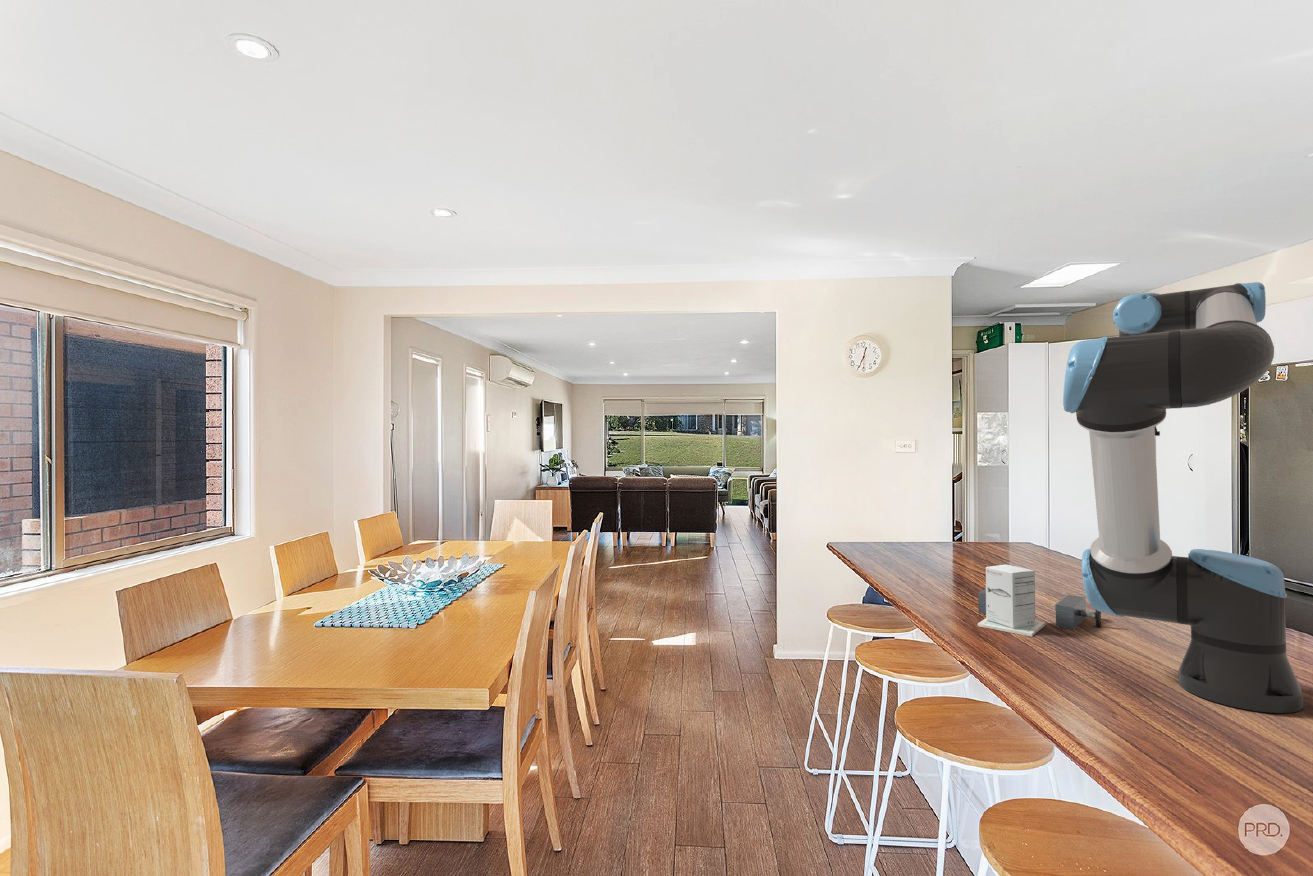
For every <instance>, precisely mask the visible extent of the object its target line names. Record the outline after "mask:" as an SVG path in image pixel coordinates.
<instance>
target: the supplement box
mask: <svg viewBox="0 0 1313 876" xmlns="http://www.w3.org/2000/svg"><path fill="white" fill-rule="evenodd" d="M985 589H986V614H985V618H986V620H989V621H993V622H996V623H999V624H1002V625H1005V626H1008V627H1011V628H1020V627H1026V626H1031V625H1035V621H1036V570H1033V569H1029V568H1025V567H1020V566H1016V565H1010V564H999V565H992V566H991V565H990V566H986V567H985Z"/></svg>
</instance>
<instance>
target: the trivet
mask: <svg viewBox="0 0 1313 876" xmlns="http://www.w3.org/2000/svg"><path fill="white" fill-rule="evenodd" d="M1045 626H1046V622H1044V621H1038V620H1035V625H1031V626H1026V627H1020V628H1011V627H1008V626H1005V625H1002V624H999V623H996V622H993V621H989V620H986V617H985V618H984V619H982V620H981V621H979V622H978V623H977V627H980V628H981V627H982V628H985V629H991V630H997V631H1001V632H1007V633H1012V634H1016V635H1022V636H1027V637H1033V636H1035V635H1036V633H1038V632H1039V631H1040V630H1042V629H1043V628H1044V627H1045Z"/></svg>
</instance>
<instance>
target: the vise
mask: <svg viewBox="0 0 1313 876" xmlns="http://www.w3.org/2000/svg"><path fill="white" fill-rule="evenodd" d="M977 597H978V598H977V604H978V606H977V607H978V613H979V614H982V615H986V588H984V589H982V590H980V591H978V592H977ZM1086 600H1087V597H1086V596H1081V595H1073V594H1072V595H1071V594H1067V595H1065V596H1064V597H1062V598H1061V599H1060V600H1058V601H1057V602H1055V603H1054V611H1055V627H1058V628H1062V629H1063V628H1064V629H1069V630H1073V631H1074V630H1075V629H1076V628H1077V627H1079V626H1080V624H1081V623H1083V622H1084V620H1085V619H1087V618H1091V619H1095V627H1096V628H1102V612H1100V611H1098V610H1096V609H1094V610H1095V611H1089V610H1087V609H1086V605H1087V604H1086V602H1087V601H1086Z"/></svg>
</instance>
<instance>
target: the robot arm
mask: <svg viewBox="0 0 1313 876" xmlns="http://www.w3.org/2000/svg"><path fill="white" fill-rule="evenodd" d="M1266 301H1267V300H1266V288H1265V285H1264V284H1263V283H1262V282H1258V281H1257V282H1246V283H1243V282H1237V283H1234V284H1230V285H1229V284H1228V285H1221V286H1216V287H1215V286H1214V287H1207V288H1199V289H1193V290H1186V291H1185V290H1184V291H1182V290H1181V291H1177V292H1166V293H1155V292H1145V293H1136V294H1135V293H1134V294H1131V295H1126V296H1125V297H1122V298H1121V299H1120V300H1119V302H1118V303H1117V304H1116V305H1115V307H1114V309H1113V313H1112V317H1113V318H1112V319H1113V324H1114V325H1115V328H1116V329H1117V330H1118V336H1110V337H1109V336H1108V337H1107V336H1103V337H1100V338H1095V339H1086V340H1081V341H1078V342H1077V343H1075V344H1073V345H1072V347H1071V348H1070V350H1069V353H1068V357H1067V363H1066V368H1065V374H1064V384H1063V396H1062V398H1063V399H1062V402H1063V403H1062V406H1063V410H1064V412H1067V413H1070V414H1076V415H1075V416H1076V422H1077V424H1078V425H1079V426H1080V427H1082V428H1083V429H1085V430H1087V431H1088V433H1089V444H1090V455H1091V467H1092V476H1093V486H1094V488H1093V489H1094V496H1095V507H1096V508H1095V509H1096V517H1097V518H1096V519H1097V529H1098V537H1097V538H1096V539H1094V540H1093V542H1092V543H1091V545H1090V548H1086V549H1085V550H1083V553H1082V556H1081V574H1082V584H1083V590H1084V593H1085V597H1086V600H1088V603H1089V605H1090V606H1091V607H1092V608H1093V609H1094V610H1095V609H1096V610H1098V611H1100V612H1101V613H1104V614H1110V615H1113V616H1114V615H1115V616H1116V617H1129V618H1136V619H1142V620H1143V619H1144V620H1152V621H1159V622H1165V623H1166V622H1167V623H1172V624H1179V625H1187V626H1190V643H1189V645H1188V647H1187V649H1186V652H1185V653H1184V656H1183V659H1182V660H1181V664H1180V666H1179V669H1178V684H1179V686H1180V687H1181V688H1182V689H1184V690H1185V691H1187V692H1188V693H1191V694H1192V695H1195V696H1197V697H1200V698H1202V699H1205V700H1206V701H1207V700H1208V701H1211V702H1214V703H1217V704H1220V705H1225V706H1228V707H1231V708H1232V707H1233V708H1238V709H1242V710H1247V711H1254V712H1262V713H1269V714H1270V713H1273V714H1290V713H1296V712H1297V713H1298V712H1299V711H1301V710H1303V709H1304V694H1303V691H1302V688H1301V686H1300V684H1299V681H1298V679H1297V677H1296V675H1295V672H1294V670H1293V668H1292V666H1291V663H1290V661H1289V659H1288V655H1287V629H1286V628H1287V627H1286V601H1285V600H1286V599H1287V597H1288V594H1287V592H1286V588H1285V577H1284V573H1283V571H1282V570H1281V568H1279V567H1278V566H1277V565H1275V564H1273V563H1272V562H1268V561H1266V560H1262V559H1260V558H1255V557H1252V556H1247V555H1243V554H1238V553H1234V552H1227V551H1221V550H1214V549H1203V548H1193V549H1191V550H1190V551H1189V553H1188V554H1187V557H1186V556H1184V557H1183V556H1177V555H1173V552H1172V549H1171V547H1170V546H1169V544H1167V543H1166V542H1165V541H1164V540H1162V539H1161V531H1160V530H1161V529H1160V511H1159V492H1158V491H1159V490H1158V473H1157V472H1158V470H1157V439H1156V438H1157V437H1159V436H1160V435H1161V431H1159V430H1158V428H1157V426H1159V425H1160V424H1162V423H1163V422H1164V421H1165V419H1166V417H1167V410H1168V409H1171V410H1172V409H1183V408H1184V409H1187V408H1189V409H1190V408H1198V407H1204V406H1209V405H1212V404H1216V403H1219V402H1222V401H1225V400H1227V399H1229V398H1232V397H1234V396H1236V395H1238V394H1240V393H1242V392H1244V391H1245V390H1248V389H1249V388H1251V387H1252V386H1253V385H1254V384H1256V383H1257V382H1258V381H1259V380H1261V378H1263V376H1264V375H1265V374H1266V373H1267V372H1268V370H1269V369H1270V367H1271V365H1272V363H1273V361H1274V358H1275V346H1274V343H1273V340H1272V338H1271V336H1270V334H1269V333H1268V332H1267V331H1266V330H1265V328H1263V327H1261V326H1260V325H1258V323H1260V322H1262V321H1263V320H1264V319H1265V317H1266V305H1267V304H1266ZM1096 610H1095V611H1096Z"/></svg>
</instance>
